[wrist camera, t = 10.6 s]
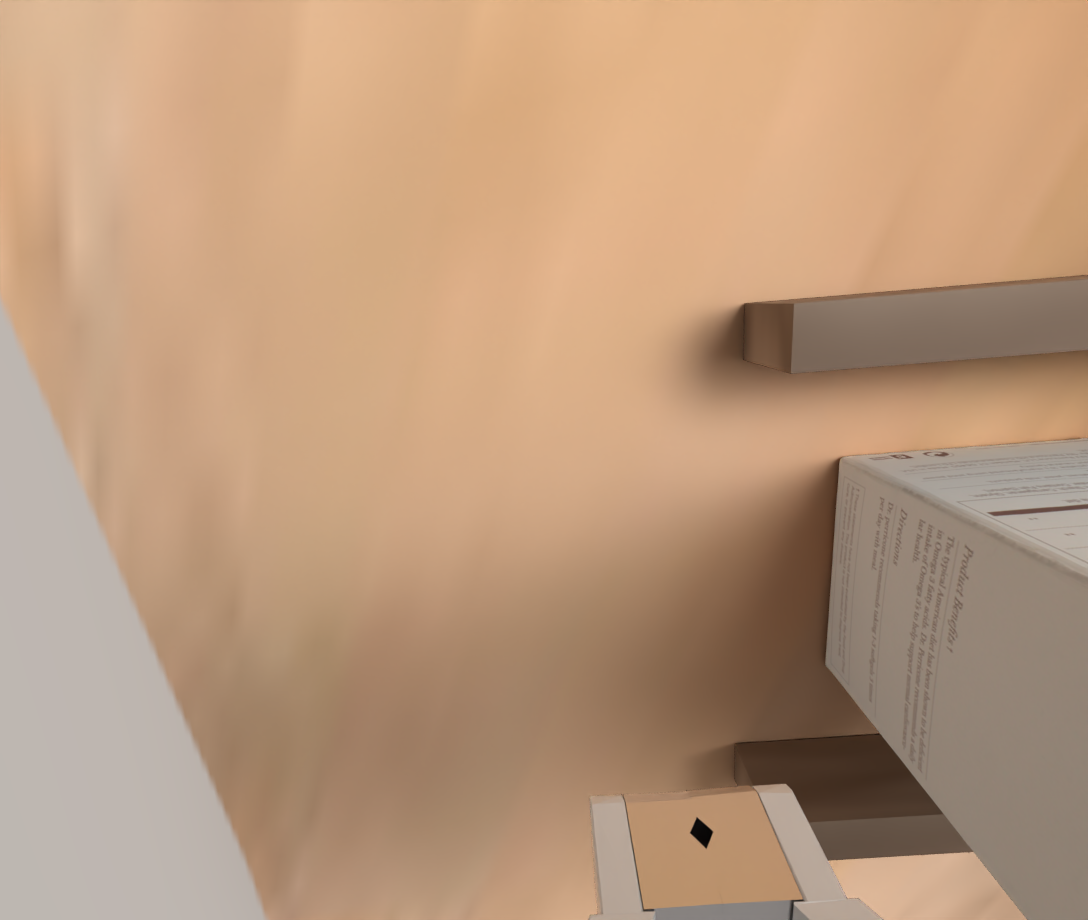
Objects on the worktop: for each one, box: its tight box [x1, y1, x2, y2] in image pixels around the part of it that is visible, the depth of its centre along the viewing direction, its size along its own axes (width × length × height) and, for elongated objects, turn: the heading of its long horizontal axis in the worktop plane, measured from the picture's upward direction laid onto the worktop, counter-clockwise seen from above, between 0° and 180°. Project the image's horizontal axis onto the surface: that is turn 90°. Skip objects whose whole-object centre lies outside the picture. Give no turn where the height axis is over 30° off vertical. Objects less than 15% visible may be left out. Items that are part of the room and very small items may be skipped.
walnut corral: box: [734, 275, 1088, 860], centre depth 15 cm, size 16×14×3 cm
